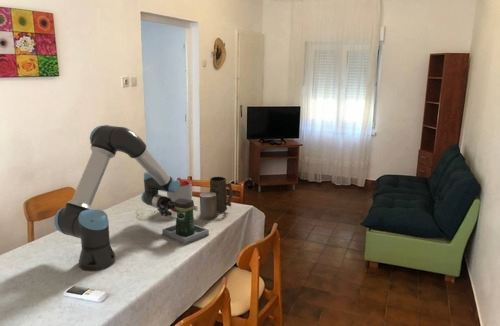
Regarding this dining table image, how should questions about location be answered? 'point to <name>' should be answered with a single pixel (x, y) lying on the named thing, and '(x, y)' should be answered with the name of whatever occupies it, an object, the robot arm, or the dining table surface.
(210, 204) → the pillar candle
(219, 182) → the beer stein
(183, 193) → the citrus juicer
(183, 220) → the coffee jar
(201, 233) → the tray
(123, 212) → the dining table surface
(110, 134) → the robot arm
